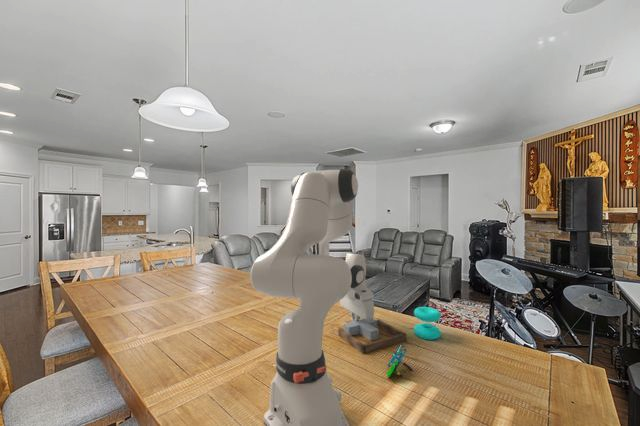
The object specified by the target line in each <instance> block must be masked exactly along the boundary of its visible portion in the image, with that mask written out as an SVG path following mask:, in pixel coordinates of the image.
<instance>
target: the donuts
mask: <svg viewBox="0 0 640 426" xmlns="http://www.w3.org/2000/svg"><path fill="white" fill-rule="evenodd" d="M413 314H414V317H416V318H417V319H418V320H420V321H422V323H417V324H416V325H415V326H414V327H413V332H414V334H415V335H416V336H417V337H419V338H421V339H424V340H428V341H429V340H433V341H434V340H438V339H439V338H440V337H441V335H442V334H441V330H440V329H439V327H438V326H436V325H435V324H431V323H434V322H439V320H440V319H441V317H442V314H441V312H440V311H439V310H438V309H436V308H434V307H429V306H418V307H416V308H414V311H413ZM423 322H424V323H423Z"/></svg>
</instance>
